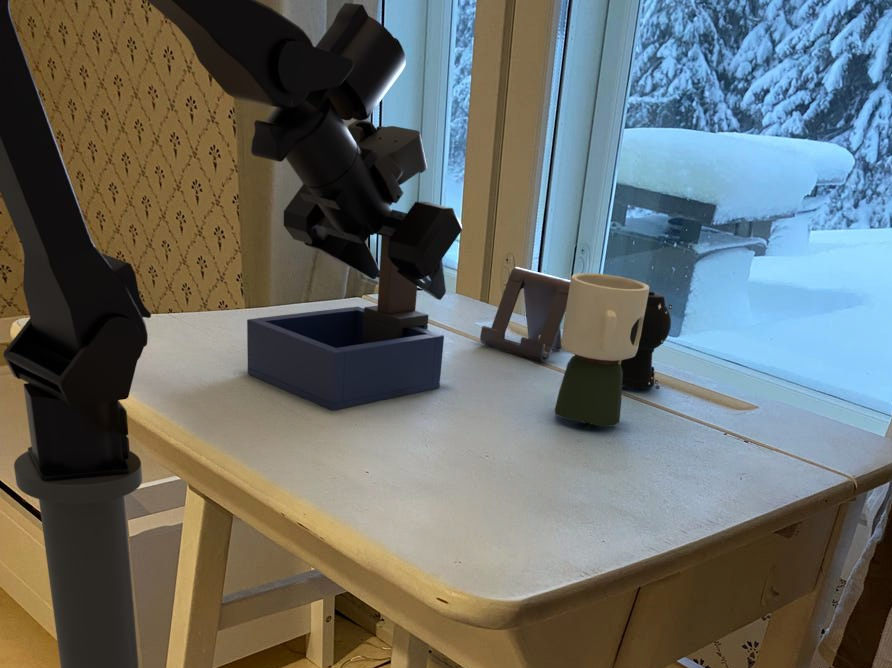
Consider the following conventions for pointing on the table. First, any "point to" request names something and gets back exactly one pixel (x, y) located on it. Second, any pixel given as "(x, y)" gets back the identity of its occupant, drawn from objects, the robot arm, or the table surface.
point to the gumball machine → (647, 344)
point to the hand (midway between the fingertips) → (408, 285)
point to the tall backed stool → (392, 304)
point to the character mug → (599, 345)
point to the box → (341, 358)
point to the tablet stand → (531, 314)
